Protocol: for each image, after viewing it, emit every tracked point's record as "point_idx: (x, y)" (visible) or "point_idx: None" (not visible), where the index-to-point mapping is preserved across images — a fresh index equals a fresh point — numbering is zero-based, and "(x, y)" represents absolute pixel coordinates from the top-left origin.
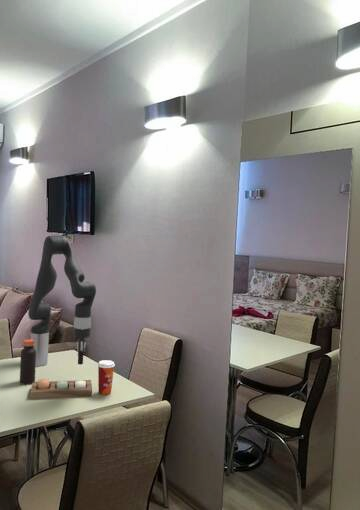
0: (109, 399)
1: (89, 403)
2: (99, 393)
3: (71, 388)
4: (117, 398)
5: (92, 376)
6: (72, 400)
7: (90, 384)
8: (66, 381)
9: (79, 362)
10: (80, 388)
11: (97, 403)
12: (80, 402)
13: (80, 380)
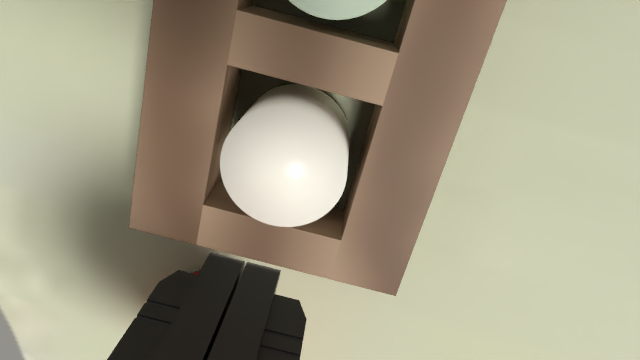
0: (68, 297)
1: (10, 135)
2: (198, 271)
3: (214, 35)
4: (77, 350)
5: (628, 346)
6: (100, 5)
7: (274, 254)
8: (467, 36)
9: (158, 294)
10: (191, 131)
11: (2, 194)
12: (41, 67)
13: (342, 186)
